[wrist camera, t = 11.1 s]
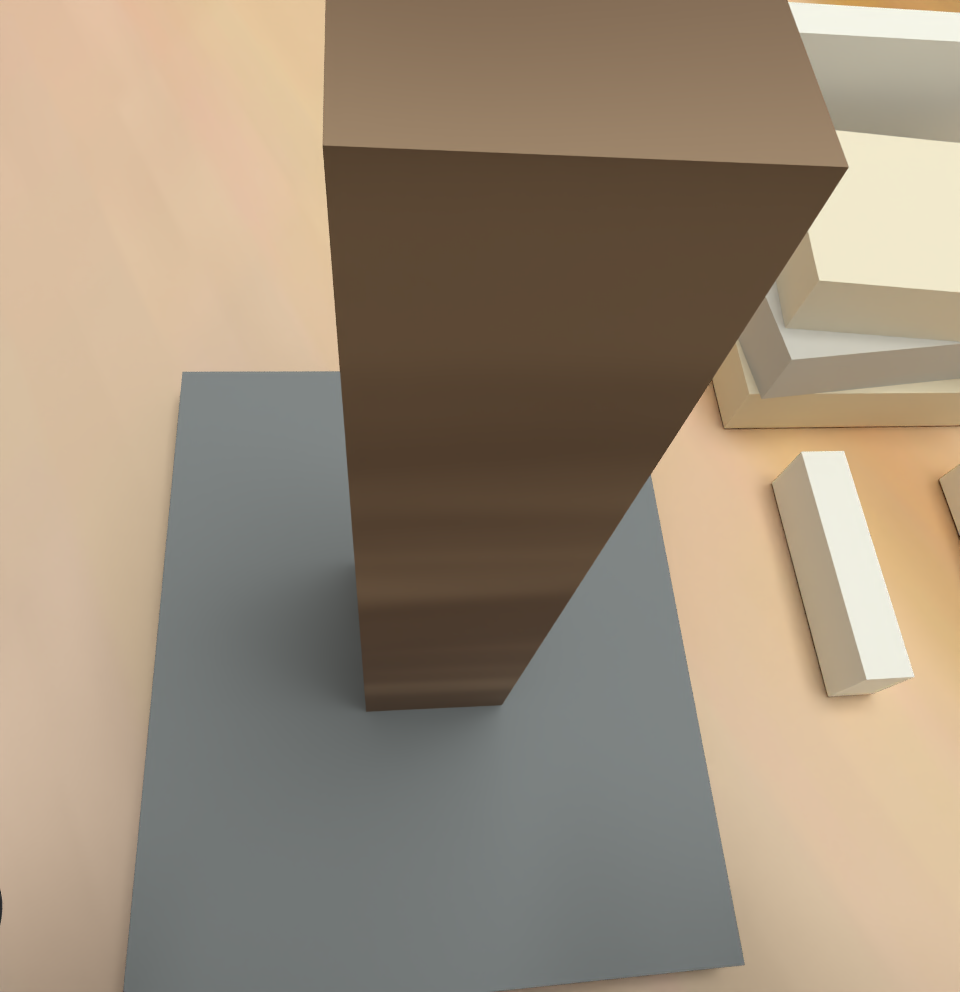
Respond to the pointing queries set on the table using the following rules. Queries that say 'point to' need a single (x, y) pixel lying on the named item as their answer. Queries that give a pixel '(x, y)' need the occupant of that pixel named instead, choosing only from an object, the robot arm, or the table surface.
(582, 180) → the walnut block
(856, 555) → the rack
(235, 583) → the slate mat
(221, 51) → the table surface
